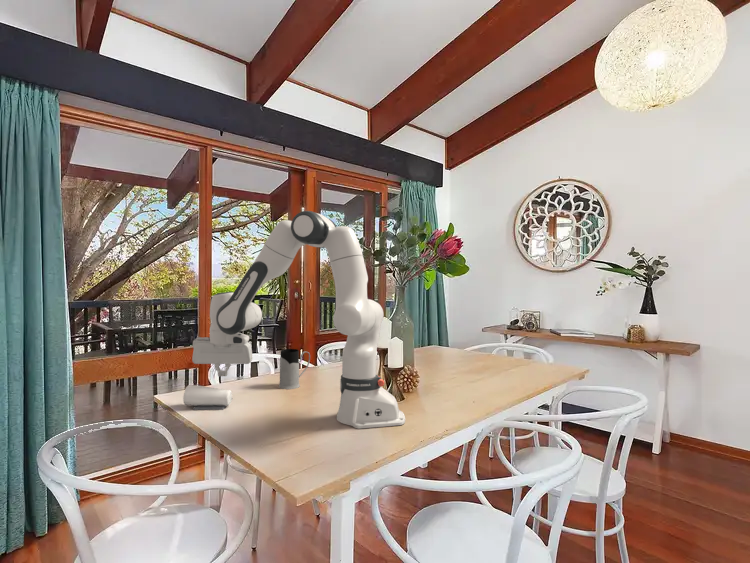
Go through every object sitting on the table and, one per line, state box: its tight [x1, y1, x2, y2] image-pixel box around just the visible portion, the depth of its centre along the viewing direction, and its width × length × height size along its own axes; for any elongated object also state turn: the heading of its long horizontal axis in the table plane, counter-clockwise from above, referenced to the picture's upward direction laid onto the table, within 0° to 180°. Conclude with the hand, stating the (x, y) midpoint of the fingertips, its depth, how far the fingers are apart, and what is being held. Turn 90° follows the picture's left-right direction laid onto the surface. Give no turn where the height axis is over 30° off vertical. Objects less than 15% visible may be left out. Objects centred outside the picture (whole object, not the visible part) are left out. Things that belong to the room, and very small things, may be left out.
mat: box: [192, 405, 227, 411], centre depth 151 cm, size 10×12×1 cm
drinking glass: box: [182, 384, 233, 407], centre depth 148 cm, size 7×7×15 cm
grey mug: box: [278, 348, 311, 390], centre depth 177 cm, size 9×14×15 cm, turn 131°
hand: (222, 376), depth 151 cm, fingers closed
